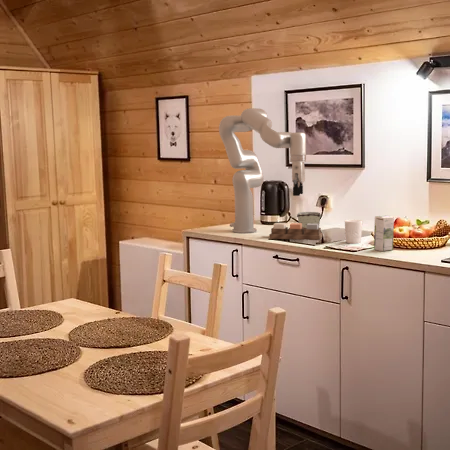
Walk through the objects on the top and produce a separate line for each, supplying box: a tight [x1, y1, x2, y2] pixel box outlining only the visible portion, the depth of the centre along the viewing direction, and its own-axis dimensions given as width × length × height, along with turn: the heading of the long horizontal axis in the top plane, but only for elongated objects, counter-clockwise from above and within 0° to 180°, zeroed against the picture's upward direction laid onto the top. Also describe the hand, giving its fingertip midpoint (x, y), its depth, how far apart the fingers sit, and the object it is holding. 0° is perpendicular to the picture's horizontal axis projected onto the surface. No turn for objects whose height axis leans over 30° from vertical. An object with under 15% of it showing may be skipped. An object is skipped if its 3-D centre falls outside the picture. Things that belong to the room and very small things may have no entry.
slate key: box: [307, 223, 320, 229], centre depth 328 cm, size 5×5×3 cm
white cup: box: [344, 219, 363, 244], centre depth 313 cm, size 8×8×10 cm
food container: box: [296, 211, 322, 229], centre depth 349 cm, size 12×6×10 cm, turn 84°
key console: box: [268, 226, 323, 241], centre depth 331 cm, size 24×10×5 cm, turn 74°
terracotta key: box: [289, 222, 302, 229], centre depth 330 cm, size 5×5×3 cm
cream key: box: [273, 222, 287, 229], centre depth 333 cm, size 5×5×3 cm
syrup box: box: [373, 215, 395, 252], centre depth 291 cm, size 6×6×14 cm
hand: (298, 194), depth 328 cm, fingers open, 9 cm apart
